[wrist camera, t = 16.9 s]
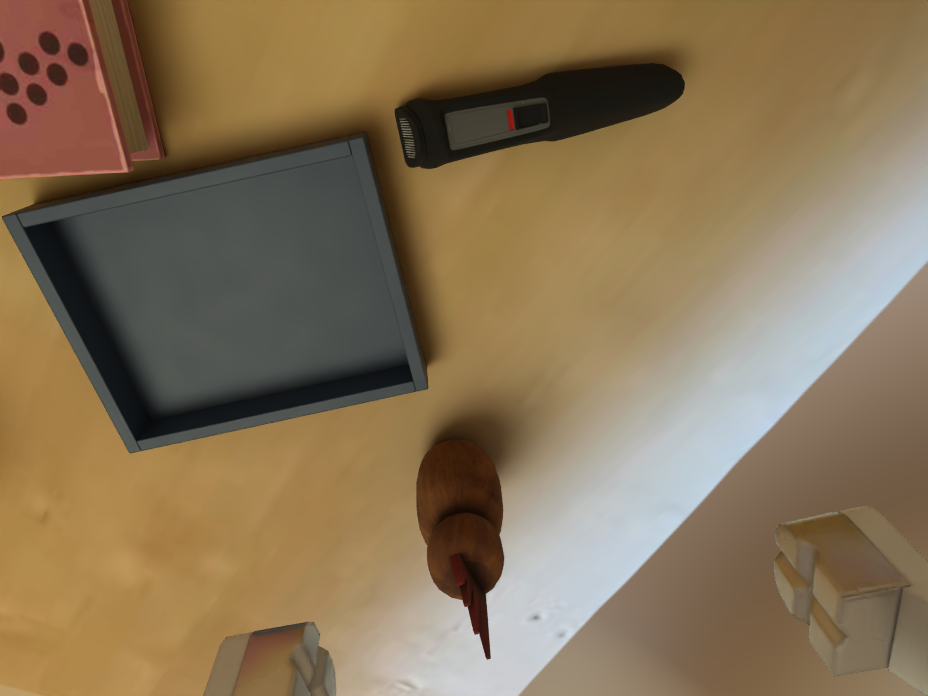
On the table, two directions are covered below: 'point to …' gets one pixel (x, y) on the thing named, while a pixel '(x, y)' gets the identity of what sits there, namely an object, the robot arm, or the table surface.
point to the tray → (230, 292)
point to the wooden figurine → (462, 525)
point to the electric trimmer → (532, 112)
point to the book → (72, 90)
